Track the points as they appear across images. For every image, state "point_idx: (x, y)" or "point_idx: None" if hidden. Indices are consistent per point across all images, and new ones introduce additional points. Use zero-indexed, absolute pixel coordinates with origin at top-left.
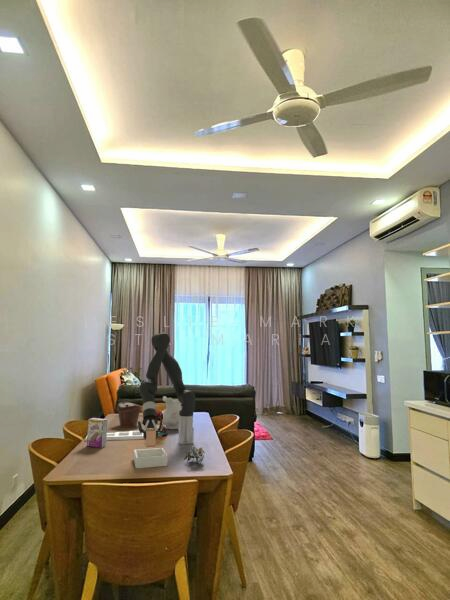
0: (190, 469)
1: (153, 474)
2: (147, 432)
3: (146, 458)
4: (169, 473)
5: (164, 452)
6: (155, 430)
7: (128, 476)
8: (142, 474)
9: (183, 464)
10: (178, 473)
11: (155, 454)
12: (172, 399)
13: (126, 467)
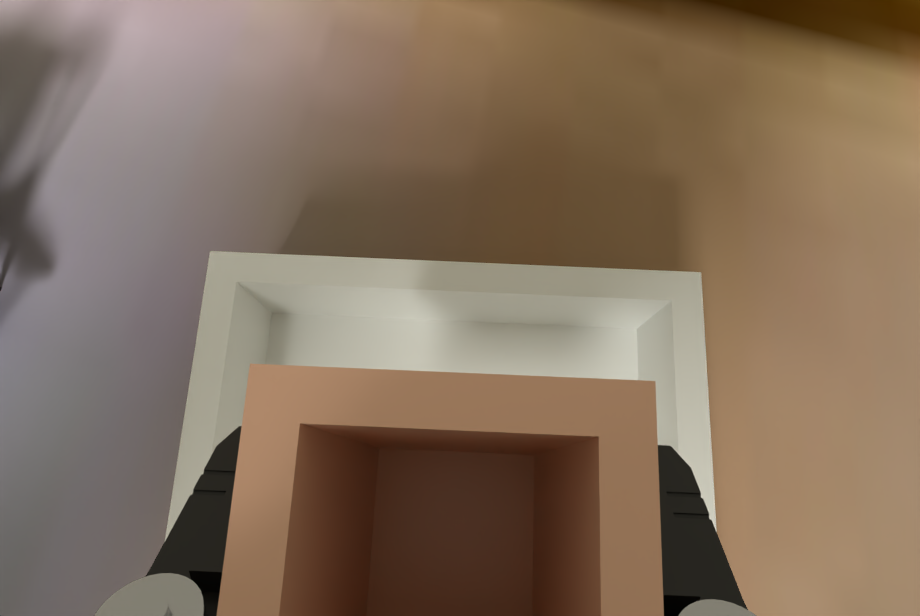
0: (49, 91)
1: (478, 61)
2: (606, 383)
3: (541, 270)
4: (310, 41)
5: (199, 454)
6: (242, 494)
7: (740, 78)
8: (592, 93)
9: (46, 285)
10: (220, 16)
11: None
12: None
13: (770, 388)
